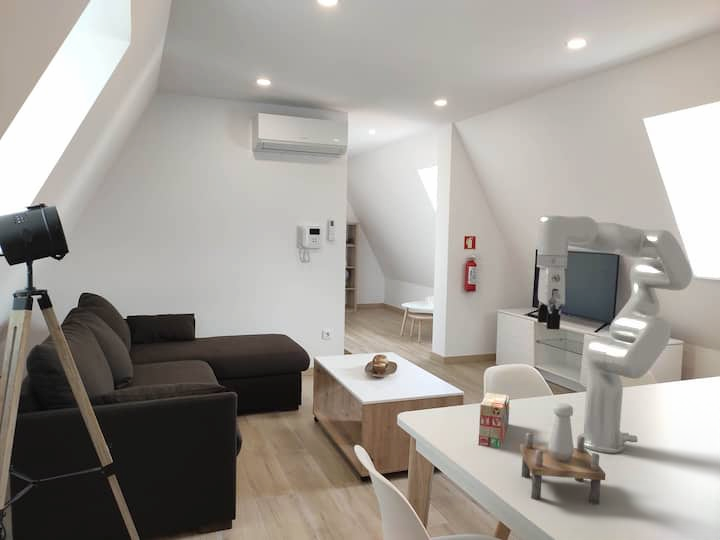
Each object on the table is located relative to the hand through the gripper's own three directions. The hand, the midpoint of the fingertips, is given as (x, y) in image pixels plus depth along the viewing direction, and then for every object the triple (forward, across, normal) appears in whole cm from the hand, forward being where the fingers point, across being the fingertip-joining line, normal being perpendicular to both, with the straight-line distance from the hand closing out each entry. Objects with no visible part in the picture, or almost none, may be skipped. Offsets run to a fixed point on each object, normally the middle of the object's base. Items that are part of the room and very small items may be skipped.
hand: (548, 325), depth 143 cm
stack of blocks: (+37, +15, +10) cm, 41 cm away
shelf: (+36, -18, 0) cm, 41 cm away
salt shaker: (+29, -18, 0) cm, 34 cm away
